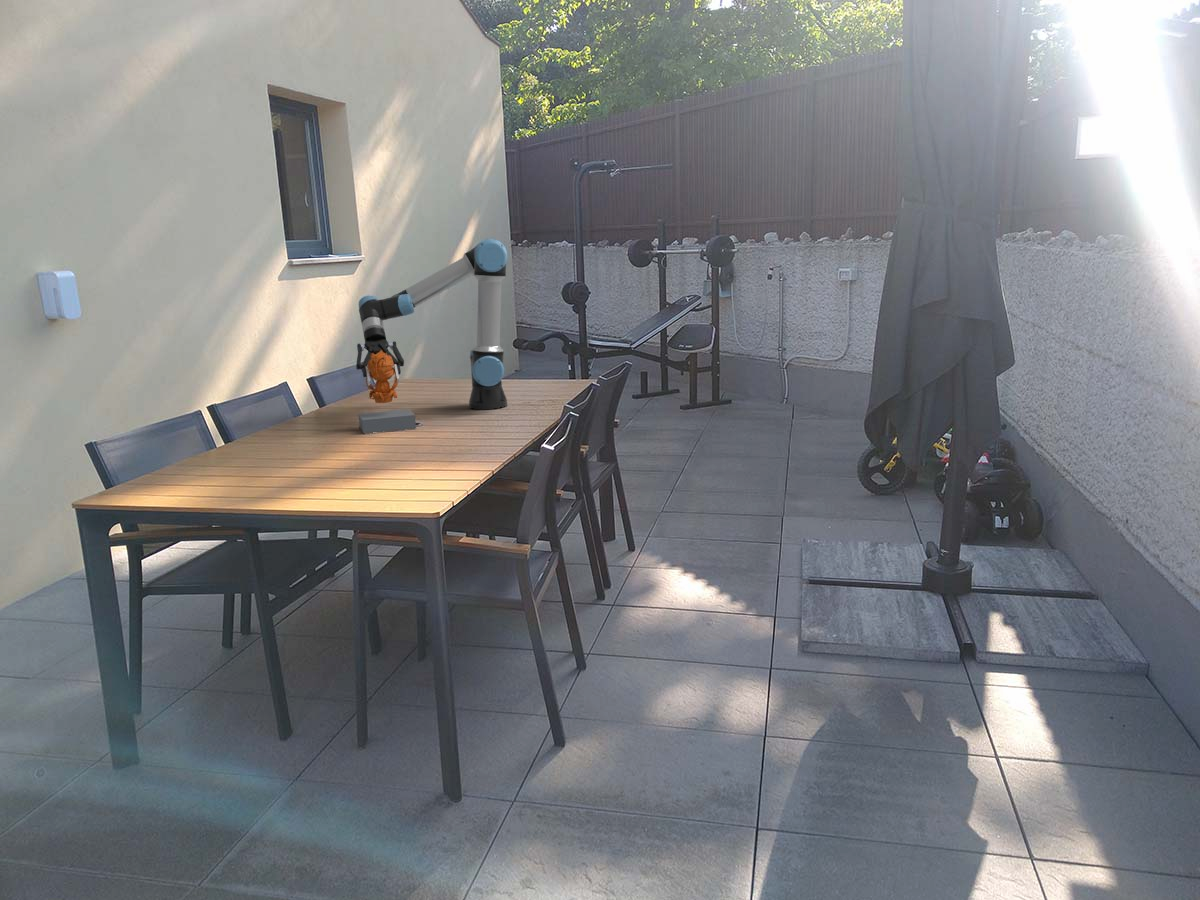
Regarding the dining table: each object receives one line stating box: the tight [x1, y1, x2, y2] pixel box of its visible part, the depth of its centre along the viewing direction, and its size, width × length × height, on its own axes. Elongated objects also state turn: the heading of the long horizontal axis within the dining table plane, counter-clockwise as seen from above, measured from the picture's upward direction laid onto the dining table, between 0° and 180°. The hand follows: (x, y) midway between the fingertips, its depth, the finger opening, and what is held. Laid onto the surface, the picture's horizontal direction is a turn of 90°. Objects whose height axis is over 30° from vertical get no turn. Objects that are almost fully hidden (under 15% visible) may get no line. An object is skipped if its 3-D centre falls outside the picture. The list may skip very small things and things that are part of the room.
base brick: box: [357, 408, 417, 435], centre depth 321 cm, size 18×14×5 cm
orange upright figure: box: [365, 350, 399, 404], centre depth 318 cm, size 11×11×18 cm
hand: (383, 382), depth 315 cm, fingers closed on orange upright figure, 9 cm apart
